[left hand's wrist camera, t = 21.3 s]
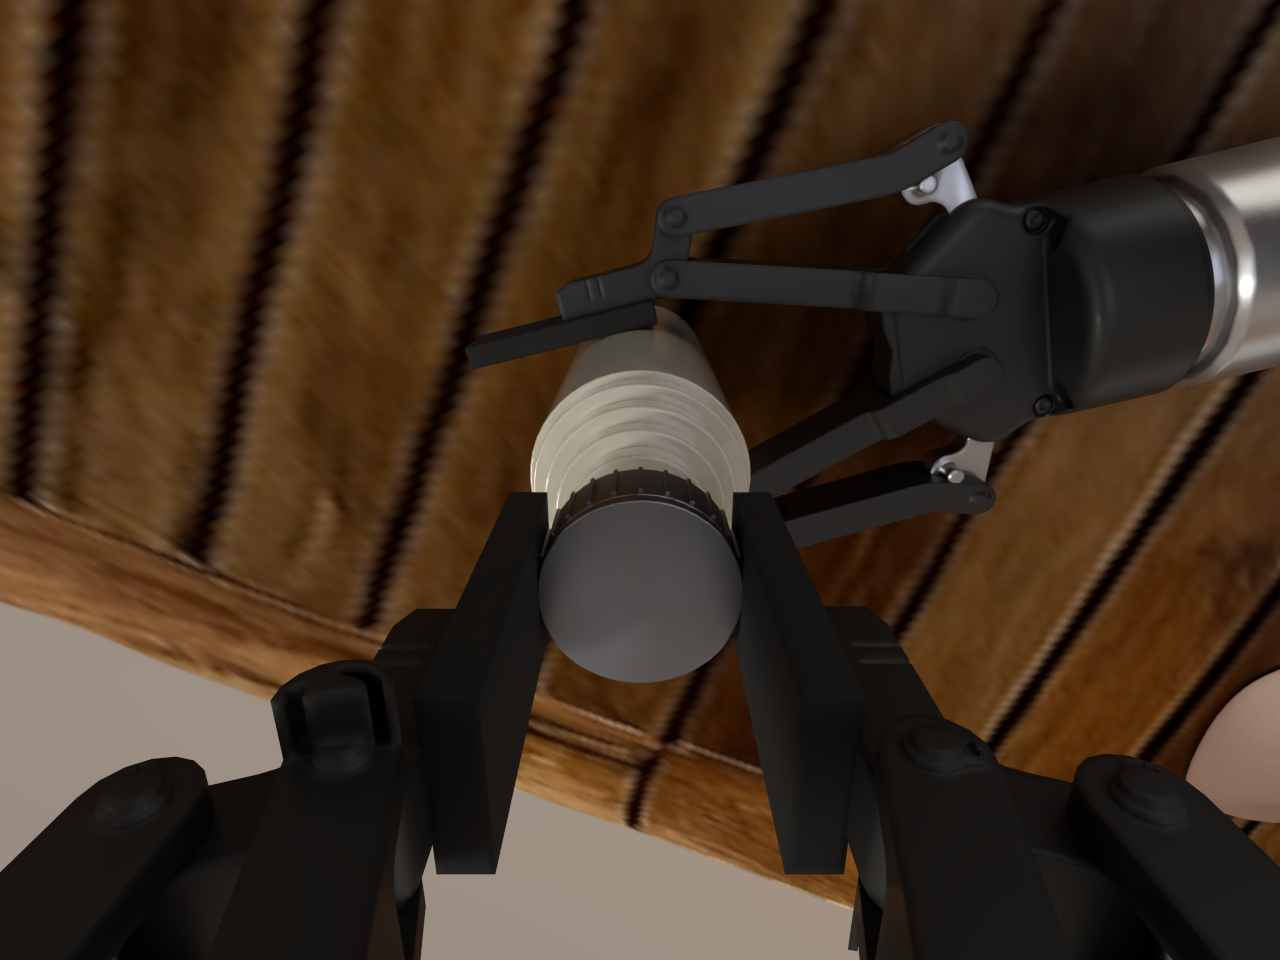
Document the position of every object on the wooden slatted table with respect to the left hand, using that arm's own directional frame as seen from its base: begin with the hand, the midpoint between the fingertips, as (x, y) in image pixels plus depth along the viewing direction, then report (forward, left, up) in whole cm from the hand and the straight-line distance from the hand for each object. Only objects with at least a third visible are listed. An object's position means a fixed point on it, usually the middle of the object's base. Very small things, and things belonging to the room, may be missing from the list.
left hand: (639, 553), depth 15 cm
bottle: (0, 0, -18) cm, 18 cm away
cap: (0, 0, +1) cm, 1 cm away
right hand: (+3, -4, -12) cm, 13 cm away
